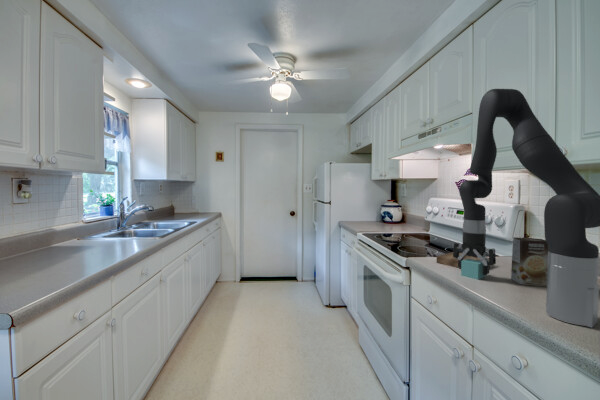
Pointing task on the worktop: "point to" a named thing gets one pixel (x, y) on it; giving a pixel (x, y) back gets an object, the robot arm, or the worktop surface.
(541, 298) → the worktop surface
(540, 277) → the coffee box
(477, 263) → the teal cube
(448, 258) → the walnut stand
